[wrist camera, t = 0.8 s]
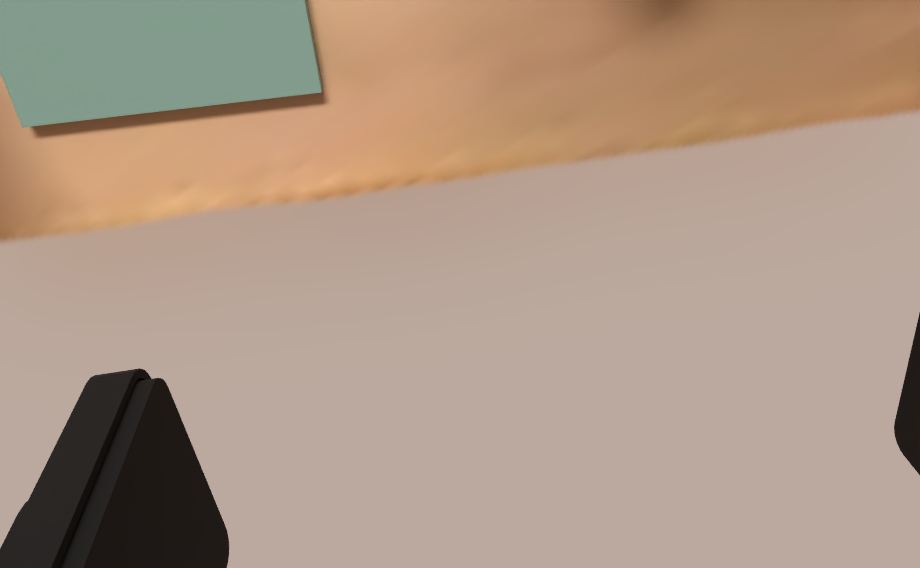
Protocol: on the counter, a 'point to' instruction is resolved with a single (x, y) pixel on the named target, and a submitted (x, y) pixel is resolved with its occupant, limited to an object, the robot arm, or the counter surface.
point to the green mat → (151, 55)
